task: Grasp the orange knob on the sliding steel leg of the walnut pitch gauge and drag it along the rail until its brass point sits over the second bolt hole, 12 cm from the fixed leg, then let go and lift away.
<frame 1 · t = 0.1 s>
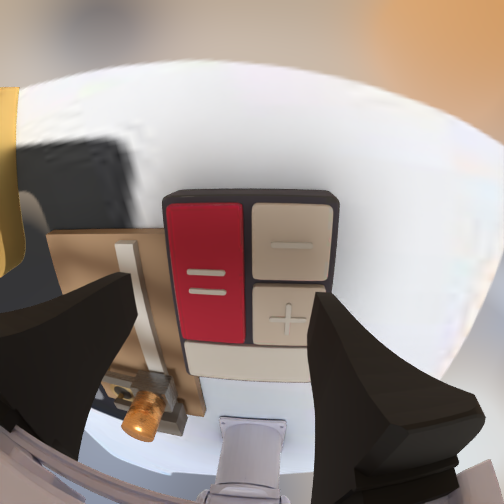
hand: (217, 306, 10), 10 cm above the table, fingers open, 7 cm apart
slider leg: (126, 398, 22), point 5 cm above the table, slide at 0.0 cm
button panel: (253, 282, 22), on the table
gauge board: (130, 334, 25), on the table
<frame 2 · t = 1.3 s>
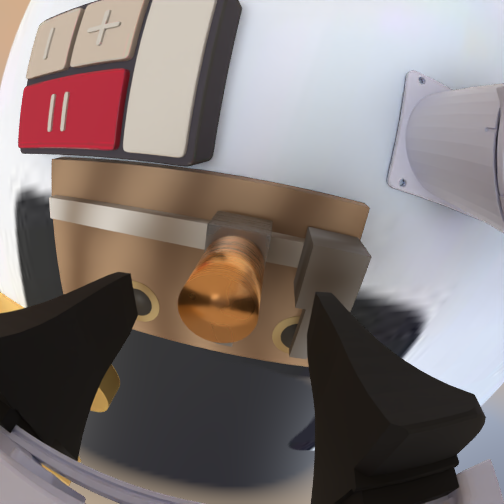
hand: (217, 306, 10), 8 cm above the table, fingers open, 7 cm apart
slider leg: (225, 311, 14), point 5 cm above the table, slide at 0.0 cm
button panel: (123, 76, 15), on the table
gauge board: (181, 261, 19), on the table
yellow clevis bracket: (53, 346, 26), on the table
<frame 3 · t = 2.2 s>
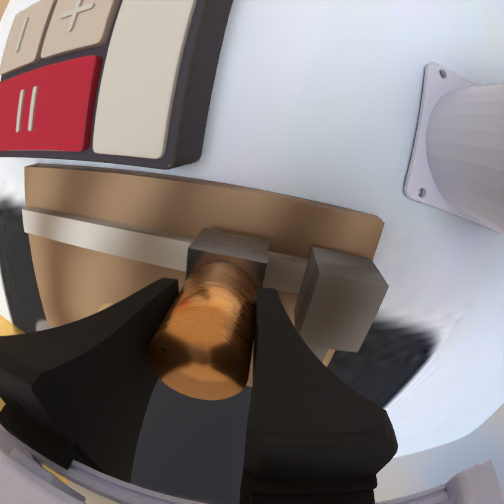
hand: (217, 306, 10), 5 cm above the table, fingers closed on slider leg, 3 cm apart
slider leg: (213, 348, 12), point 5 cm above the table, slide at 0.0 cm, touching gripper
button panel: (101, 67, 12), on the table
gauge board: (166, 282, 17), on the table
yellow clevis bracket: (39, 361, 24), on the table
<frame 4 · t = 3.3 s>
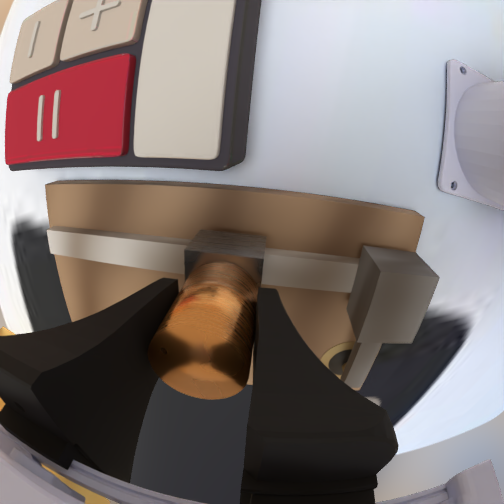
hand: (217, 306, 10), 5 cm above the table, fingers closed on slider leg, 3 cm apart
slider leg: (218, 349, 12), point 5 cm above the table, slide at 2.6 cm, touching gripper
button panel: (124, 70, 12), on the table
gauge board: (211, 293, 17), on the table
yellow clevis bracket: (68, 382, 24), on the table
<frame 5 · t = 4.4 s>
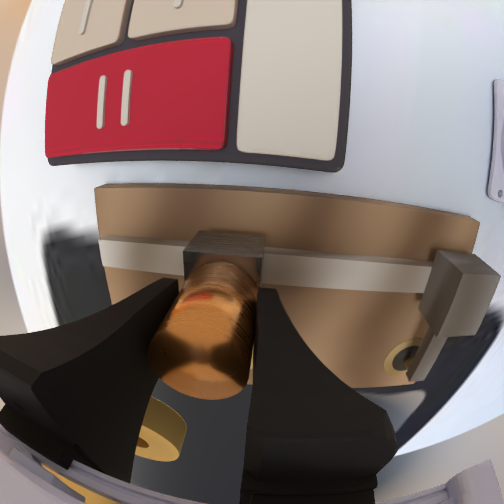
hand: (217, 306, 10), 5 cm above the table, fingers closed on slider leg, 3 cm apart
slider leg: (220, 349, 12), point 5 cm above the table, slide at 7.0 cm, touching gripper
button panel: (193, 59, 12), on the table
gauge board: (286, 300, 16), on the table
yellow clevis bracket: (101, 398, 24), on the table
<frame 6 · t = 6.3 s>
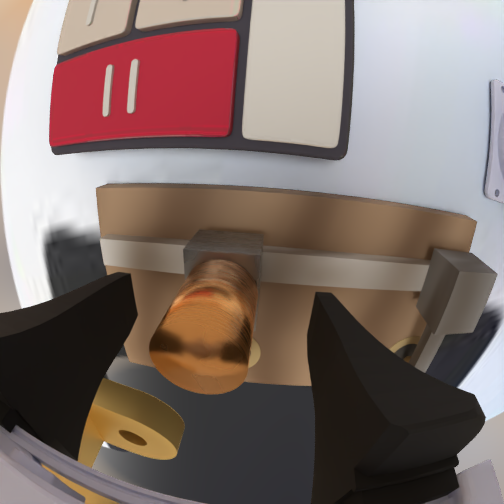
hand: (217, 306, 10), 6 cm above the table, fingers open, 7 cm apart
slider leg: (219, 346, 12), point 5 cm above the table, slide at 7.0 cm
button panel: (197, 51, 12), on the table
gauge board: (285, 299, 17), on the table
yellow clevis bracket: (100, 396, 24), on the table
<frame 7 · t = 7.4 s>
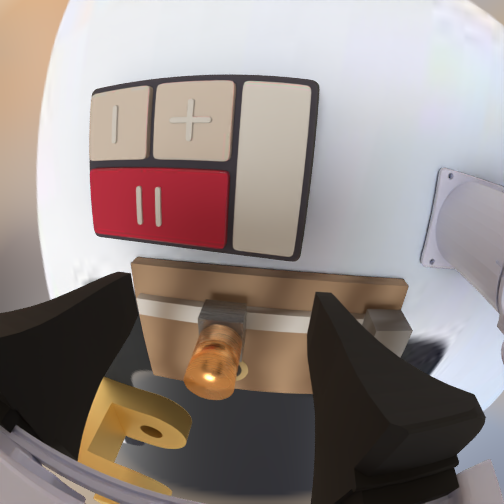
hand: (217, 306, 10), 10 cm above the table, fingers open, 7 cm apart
slider leg: (220, 370, 19), point 5 cm above the table, slide at 7.0 cm
button panel: (200, 158, 19), on the table
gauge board: (264, 335, 24), on the table
yellow clevis bracket: (123, 399, 31), on the table
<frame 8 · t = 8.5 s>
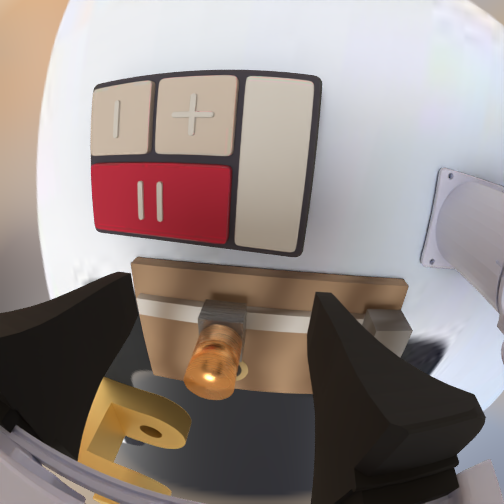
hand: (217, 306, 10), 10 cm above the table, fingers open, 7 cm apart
slider leg: (220, 370, 19), point 5 cm above the table, slide at 7.0 cm
button panel: (202, 154, 19), on the table
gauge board: (264, 335, 24), on the table
yellow clevis bracket: (123, 399, 32), on the table
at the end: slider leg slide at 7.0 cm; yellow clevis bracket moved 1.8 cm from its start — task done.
